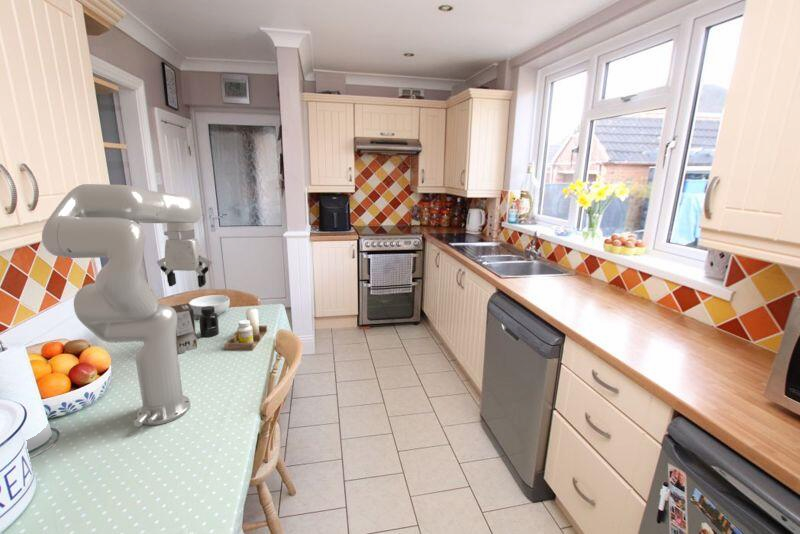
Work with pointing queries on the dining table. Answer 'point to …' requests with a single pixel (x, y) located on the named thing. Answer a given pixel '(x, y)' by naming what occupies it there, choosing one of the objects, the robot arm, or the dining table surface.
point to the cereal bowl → (210, 303)
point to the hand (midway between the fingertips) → (187, 285)
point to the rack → (234, 344)
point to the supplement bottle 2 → (245, 332)
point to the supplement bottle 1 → (208, 322)
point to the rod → (253, 319)
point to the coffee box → (185, 328)
